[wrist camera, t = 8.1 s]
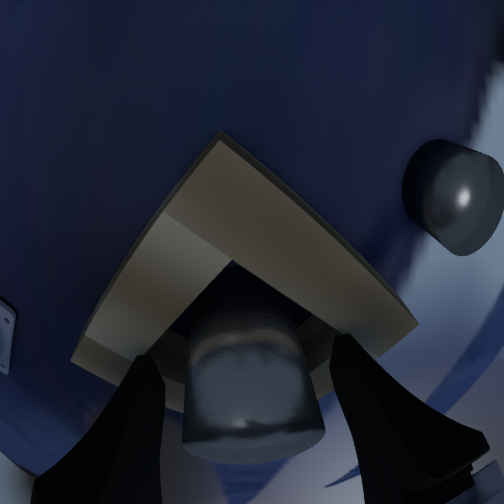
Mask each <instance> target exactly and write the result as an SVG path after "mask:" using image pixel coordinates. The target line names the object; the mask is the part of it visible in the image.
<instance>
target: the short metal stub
mask: <svg viewBox="0 0 504 504" xmlns="http://www.w3.org/2000/svg"><path fill="white" fill-rule="evenodd" d="M402 198H403V204H404V207H405V210H406V212H407V214H408V215H409V217H410V218H411V219H412V220H413V221H414V222H415V223H416V224H418V225H419V226H420V227H421V228H423V229H424V230H425V231H426V232H427V233H429V234H430V235H431V236H432V237H433V238H435V239H436V240H437V241H438V242H439V243H441V244H442V245H443V246H444V247H445V248H447V250H449V251H450V252H451V253H453V254H454V255H457V256H466V255H470V254H472V253H474V252H476V251H477V250H479V249H480V248H481V247H482V246H483V245H484V244H485V243H486V242H487V241H488V240H489V239H490V237H491V236H492V235H493V233H494V231H495V230H496V228H497V226H498V224H499V222H500V219H501V216H502V213H503V210H504V174H503V171H502V169H501V166H500V165H499V164H498V162H497V161H496V160H495V159H494V158H492V157H491V156H488V155H486V154H483V153H481V152H478V151H476V150H473V149H470V148H468V147H465V146H462V145H459V144H456V143H453V142H450V141H447V140H443V139H435V140H431V141H429V142H427V143H425V144H424V145H422V146H421V147H420V148H419V149H418V150H417V151H416V152H415V153H414V155H413V156H412V158H411V159H410V161H409V163H408V165H407V168H406V170H405V174H404V178H403V183H402Z"/></svg>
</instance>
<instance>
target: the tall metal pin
mask: <svg viewBox="0 0 504 504" xmlns="http://www.w3.org/2000/svg"><path fill="white" fill-rule="evenodd" d="M325 431H326V430H325V425H324V422H323V418H322V414H321V411H320V407H319V404H318V400H317V397H316V393H315V390H314V386H313V383H312V379H311V376H310V372H309V369H308V365H307V362H306V359H305V355H304V352H303V348H302V345H301V342H300V338H299V335H298V331H297V328H296V325H295V321H294V318H293V315H292V312H291V308H290V305H289V302H288V298H287V296H285V295H284V294H282V293H281V292H279V291H278V290H276V289H275V288H273V287H272V286H270V285H269V284H268V283H266V282H265V281H263V280H262V279H260V278H259V277H257V276H256V275H254V274H253V273H251V272H250V271H248V270H247V269H245V268H244V267H242V266H234V267H228V268H225V269H223V270H222V271H221V272H220V273H219V274H218V275H217V276H216V277H215V278H214V279H213V280H212V281H211V282H210V283H209V284H208V286H207V287H206V288H205V289H204V290H203V291H202V292H201V293H200V294H199V295H198V296H197V297H196V298H195V300H194V301H193V302H192V310H191V320H190V330H189V341H188V352H187V364H186V378H185V393H184V410H183V432H182V444H183V447H184V448H185V449H186V450H187V451H188V452H189V453H191V454H192V455H194V456H196V457H199V458H201V459H204V460H207V461H212V462H217V463H223V464H239V465H244V464H259V463H267V462H272V461H277V460H281V459H285V458H288V457H291V456H294V455H297V454H299V453H302V452H304V451H306V450H307V449H309V448H311V447H313V446H314V445H315V444H317V443H318V442H319V441H320V440H321V439H322V438H323V436H324V435H325Z"/></svg>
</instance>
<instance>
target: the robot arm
mask: <svg viewBox="0 0 504 504" xmlns="http://www.w3.org/2000/svg"><path fill="white" fill-rule="evenodd" d="M15 320H16V314H15V312H14V311H13V310H12V309H11V308H10V307H9V306H8V305H6V304H5V303H4V302H3V301H1V300H0V371H1V372H2V373H4V374H6V375H7V374H8V373H9V367H10V356H11V347H12V339H13V332H14V326H15ZM329 370H330V374H331V378H332V382H333V386H334V390H335V392H336V395H337V397H338V400H339V403H340V405H341V408H342V410H343V413H344V416H345V418H346V421H347V423H348V426H349V429H350V431H351V434H352V438H353V441H354V445H355V449H356V454H357V458H358V463H359V468H360V473H361V478H362V485H363V491H364V500H365V504H504V477H503V474H502V472H501V469H500V467H499V465H498V462H497V460H494V461H492V462H491V463H489V464H488V465H486V466H485V467H484V468H482V469H481V470H479V471H478V472H476V473H475V474H473V475H471V473H470V472H471V471H472V470H473V467H472V463H473V462H474V461H476V460H477V459H479V458H480V457H481V456H482V455H484V454H485V453H487V452H488V451H489V449H490V447H489V445H488V443H487V440H486V438H485V436H484V435H483V433H482V432H480V431H478V430H475V429H472V428H470V427H467V426H465V425H462V424H460V423H458V422H456V421H454V420H452V419H450V418H448V417H446V416H445V415H443V414H441V413H440V412H438V411H436V410H434V409H433V408H431V407H430V406H428V405H427V404H425V403H424V402H422V401H421V400H419V399H418V398H416V397H415V396H414V395H413V394H411V393H410V392H409V391H408V390H406V389H405V388H404V387H403V386H402V385H400V384H399V383H398V382H397V381H396V380H395V379H394V378H393V377H392V376H390V375H389V374H388V373H387V372H386V371H385V370H384V369H383V368H382V367H381V366H380V365H379V364H378V363H377V362H376V361H375V360H374V359H373V358H372V357H371V356H370V355H369V353H368V352H367V351H366V350H365V349H364V348H363V347H362V346H361V345H360V344H359V343H358V342H357V340H356V339H355V338H354V337H353V336H352V335H351V334H350V333H347V334H342V335H336V336H335V339H334V344H333V349H332V354H331V358H330V363H329ZM165 385H166V384H165V382H164V380H163V378H162V376H161V374H160V372H159V370H158V368H157V366H156V364H155V362H154V360H153V358H152V355H137V356H136V358H135V359H134V361H133V363H132V364H131V366H130V368H129V370H128V371H127V373H126V375H125V377H124V378H123V380H122V382H121V383H120V385H119V387H118V388H117V390H116V391H115V393H114V395H113V396H112V398H111V400H110V401H109V403H108V404H107V406H106V407H105V409H104V410H103V411H102V413H101V414H100V416H99V417H98V419H97V420H96V421H95V423H94V424H93V425H92V427H91V428H90V429H89V430H88V432H87V433H86V434H85V435H84V436H83V437H82V439H81V440H80V441H79V442H78V443H77V444H76V445H75V446H74V447H73V448H72V449H71V450H70V451H69V452H68V453H67V454H66V455H65V456H64V457H63V458H62V459H61V460H60V461H58V462H57V463H56V464H55V465H54V466H53V467H51V468H50V469H49V470H47V471H46V472H45V473H43V474H42V475H41V476H39V477H38V478H36V479H35V480H34V484H33V490H32V496H31V502H30V504H162V496H161V484H160V446H161V438H162V429H163V421H164V413H165Z"/></svg>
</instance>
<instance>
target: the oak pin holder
mask: <svg viewBox="0 0 504 504" xmlns="http://www.w3.org/2000/svg"><path fill="white" fill-rule="evenodd" d="M231 260H234V261H235V262H237V263H238V264H240V265H241V266H242V267H244V268H245V269H247V270H248V271H250V272H251V273H253V274H254V275H256V276H257V277H259V278H260V279H262V280H263V281H265V282H266V283H268V284H269V285H270V286H272V287H273V288H275V289H276V290H278V291H279V292H281V293H282V294H284V295H285V296H287V297H288V298H290V299H291V300H293V301H294V302H296V303H297V304H299V305H300V306H302V307H303V308H305V309H306V310H308V311H309V312H311V313H312V315H311V316H310V317H309V318H307V319H306V320H305V321H304V322H303V323H302V324H300V325H299V326H298V327H297V331H298V335H299V338H300V342H301V345H302V348H303V352H304V355H305V359H306V362H307V365H308V369H309V372H310V376H311V379H312V383H313V386H314V390H315V393H316V397H317V400H318V399H320V398H322V397H323V396H325V395H326V394H328V393H329V392H331V391H333V390H334V386H333V382H332V378H331V374H330V370H329V363H330V358H331V354H332V349H333V344H334V339H335V336H336V335H342V334H347V333H350V334H351V335H352V336H353V337H354V338H355V339H356V340H357V342H358V343H359V344H360V345H361V346H362V347H363V348H364V349H365V350H366V351H367V352H368V353H369V355H370V356H371V357H372V358H373V359H374V360H376V359H377V358H379V357H380V356H381V355H383V354H384V353H385V352H387V351H388V350H389V349H390V348H391V347H393V346H394V345H395V344H396V343H398V342H399V341H400V340H401V339H402V338H403V337H405V336H406V335H407V334H408V333H410V332H411V331H412V330H413V329H414V328H415V327H416V326H417V325H419V323H418V322H417V320H416V319H415V318H414V316H413V315H412V314H411V312H410V311H409V309H408V308H407V307H406V305H405V304H404V302H403V301H402V300H401V298H400V297H399V296H398V294H397V293H396V292H395V290H394V289H393V288H392V287H391V285H390V284H389V283H388V282H387V281H386V280H385V279H384V278H383V277H382V276H381V275H380V274H379V273H378V272H377V271H376V270H375V269H374V268H373V267H372V266H371V264H370V263H369V262H368V261H367V260H366V259H365V258H364V257H363V256H362V255H361V254H360V253H359V252H358V251H357V250H356V249H355V248H354V247H353V246H352V245H351V244H350V243H349V242H348V241H347V240H346V239H345V238H343V237H342V236H341V235H340V234H339V233H338V232H337V231H336V230H335V229H334V228H333V227H332V226H331V225H330V224H329V223H328V222H327V221H326V220H325V219H324V218H323V217H321V216H320V215H319V214H318V213H317V212H316V211H315V210H314V209H313V208H312V207H311V206H310V205H309V204H307V203H306V202H305V201H304V200H303V199H302V198H301V197H300V196H299V195H297V194H296V193H295V192H294V191H293V190H292V189H291V188H290V187H288V186H287V185H286V184H285V183H284V182H283V181H282V180H281V179H279V178H278V177H277V176H276V175H275V174H274V173H272V172H271V171H270V170H269V169H268V168H267V167H265V166H264V165H263V164H262V163H261V162H259V161H258V160H257V159H256V158H255V157H253V156H252V155H251V154H250V153H249V152H247V151H246V150H245V149H244V148H243V147H241V146H240V145H239V144H238V143H236V142H235V141H234V140H233V139H231V138H230V137H229V136H228V135H226V134H225V133H224V132H223V131H221V130H220V131H219V132H218V133H217V134H216V136H215V137H214V138H213V139H212V140H211V142H210V143H209V144H208V145H207V146H206V147H205V149H204V150H203V151H202V152H201V154H200V155H199V156H198V157H197V158H196V160H195V161H194V162H193V163H192V165H191V166H190V167H189V168H188V170H187V171H186V172H185V174H184V175H183V176H182V177H181V179H180V180H179V181H178V183H177V184H176V185H175V187H174V188H173V189H172V191H171V192H170V193H169V195H168V196H167V197H166V199H165V200H164V201H163V203H162V204H161V205H160V207H159V208H158V210H157V211H156V212H155V214H154V215H153V217H152V218H151V219H150V221H149V222H148V224H147V225H146V227H145V228H144V230H143V231H142V232H141V234H140V235H139V237H138V238H137V240H136V241H135V243H134V244H133V246H132V247H131V249H130V250H129V252H128V254H127V255H126V257H125V258H124V260H123V261H122V263H121V264H120V266H119V268H118V269H117V271H116V272H115V274H114V276H113V277H112V279H111V281H110V282H109V284H108V286H107V287H106V289H105V291H104V292H103V294H102V296H101V297H100V299H99V301H98V303H97V304H96V306H95V308H94V310H93V311H92V313H91V315H90V317H89V319H88V321H87V323H86V325H85V327H84V330H83V332H82V334H81V337H80V339H79V341H78V344H77V346H76V348H75V351H74V353H73V356H72V358H71V362H73V363H75V364H77V365H78V366H80V367H82V368H84V369H85V370H87V371H89V372H91V373H93V374H95V375H97V376H99V377H100V378H102V379H104V380H106V381H108V382H110V383H112V384H114V385H116V386H119V385H120V383H121V382H122V380H123V378H124V377H125V375H126V373H127V371H128V370H129V368H130V366H131V364H132V363H133V361H134V359H135V358H136V356H137V355H152V358H153V360H154V362H155V364H156V366H157V368H158V370H159V372H160V374H161V376H162V378H163V380H164V382H165V384H166V385H165V407H167V408H170V409H173V410H175V411H178V412H181V413H183V410H184V393H185V378H186V364H187V352H188V341H189V339H188V338H186V337H184V336H182V335H180V334H178V333H176V332H174V331H172V330H171V329H169V327H170V325H171V324H172V323H173V322H174V321H175V320H176V319H177V318H178V317H179V316H180V315H181V314H182V312H183V311H184V310H185V309H186V308H187V307H188V306H189V305H190V304H191V303H192V302H193V301H194V300H195V298H196V297H197V296H198V295H199V294H200V293H201V292H202V291H203V290H204V289H205V288H206V287H207V286H208V284H209V283H210V282H211V281H212V280H213V279H214V278H215V277H216V276H217V275H218V274H219V273H220V272H221V271H222V270H223V268H224V267H225V266H226V265H227V264H228V263H229V262H230V261H231Z"/></svg>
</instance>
